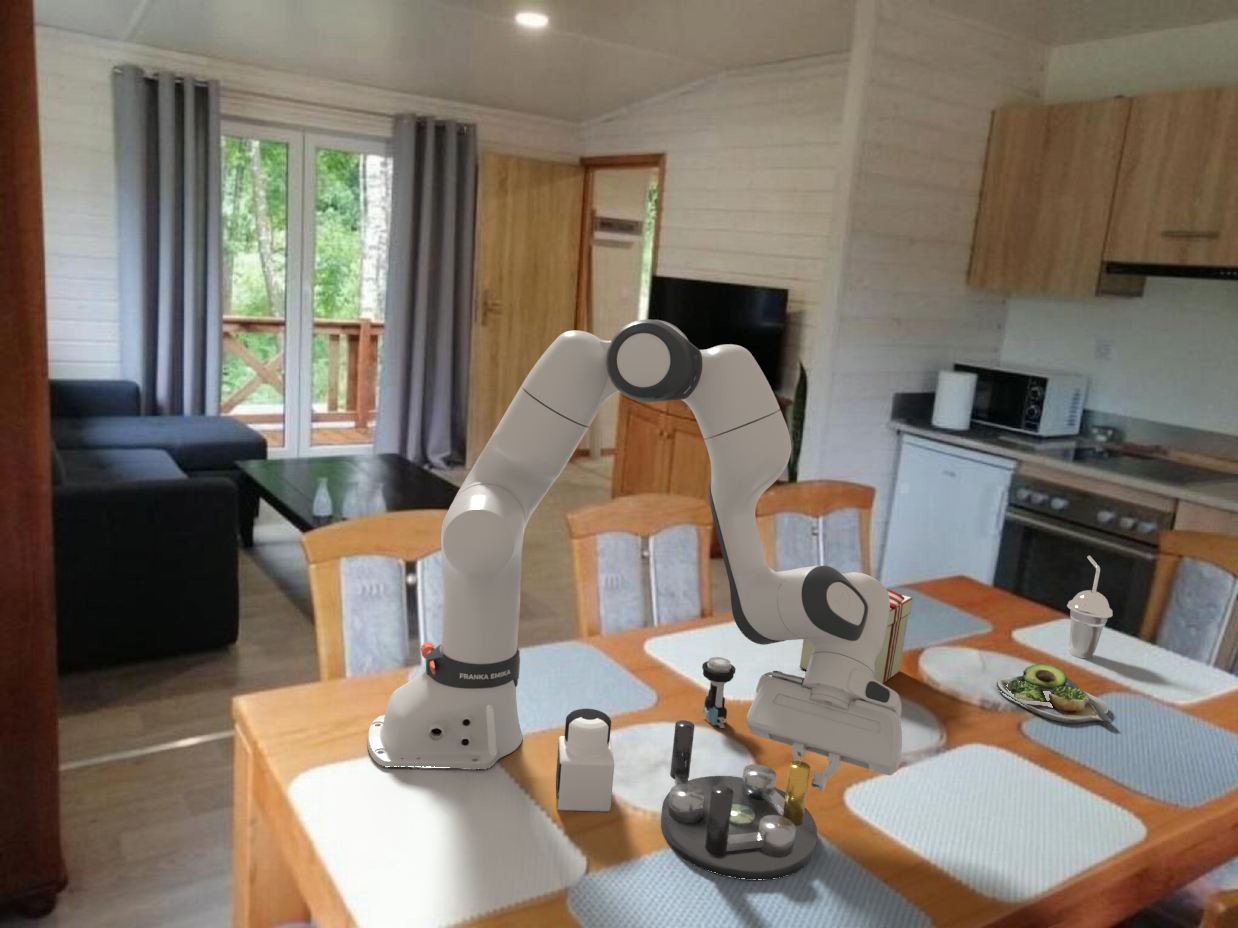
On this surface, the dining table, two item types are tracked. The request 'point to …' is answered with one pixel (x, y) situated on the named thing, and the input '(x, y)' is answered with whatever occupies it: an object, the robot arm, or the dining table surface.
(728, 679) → the push button
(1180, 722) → the dining table surface
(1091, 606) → the cup with straw
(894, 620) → the gift box
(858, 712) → the robot arm
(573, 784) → the white and black device
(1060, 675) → the salad plate
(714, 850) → the front black footscrew
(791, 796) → the amber footscrew
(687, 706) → the dining table surface
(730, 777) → the levelling plate
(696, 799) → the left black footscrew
